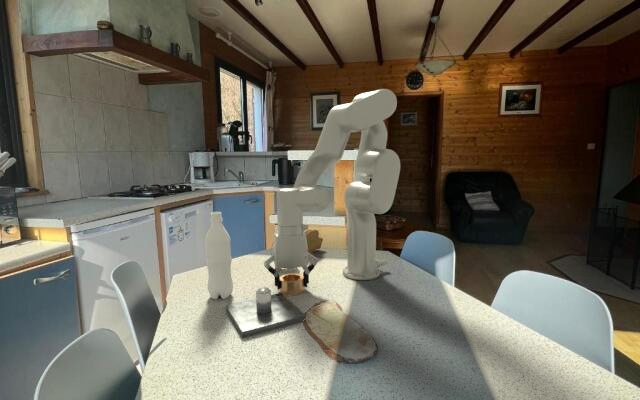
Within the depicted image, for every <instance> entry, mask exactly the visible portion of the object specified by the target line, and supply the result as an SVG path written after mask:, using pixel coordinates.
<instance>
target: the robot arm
mask: <svg viewBox="0 0 640 400" xmlns="http://www.w3.org/2000/svg"><path fill="white" fill-rule="evenodd" d="M397 99H398V98H397V96H396V95H395V93H394V92H393V90H390V89H388V88H380V89H375V90H372V91H367V92H362V93H360V94H357V95H356V96H354V98H353V99H352V101H351V102H350V103H349V102H348V103H343V104H338V105H335V106H334V107H332V108H331V109H330V110H329V112H328V114H327V116H326V119H325V121H324V124H323V127H322V130H321V133H320V135H319V138H318V141H317V144H316V147H315V149H314V151H313V152H312V153H311V154H310V156H309V157H308V159H307V160H306V161H305V163H304V164H303V165H302V167H301V168H300V169H299V172H298V173H297V177H296V179H295V182H294V185H293V187H284V188H280V189H278V190H277V192H276V213H277V214H276V215H277V231H278V234H275V236H274V240H273V242H274V243H273V254H272V256H270V257H268V258H267V259H266V260H264V261H263V267H265V269H266V270H268V272H269V273H270V274H272V275H273V276H274V286H275V287H276V288H277V290H278V291H280V277H281V276H279V273H280V271H281V269H287V268H298V269H299V268H302V270H303V272H302V276H304V288H308V284H309V283H310V279H309V278H310V276H309V275H310V274H311V272H312V271H313V270H314V269H315V267H317V264H318V263H319V258H317V257H316V256H314V255H313V254H310V253H308V246H307V239H306V235H305V233H304V232H305V231H308V230H309V225H306V224H304V214H303V213H304V212H305V213H306V212H307V213H320V212H323V211H325V210H326V209H328V207H329V206H330V204H331V196H330V194H329V192H328V190H326V189H325V188H323V187H320V186H317V184H318V181H319V180H320V178H321V176H322V175H323V174H324V173H325V172H326V171H327V170H329V169H330V168H332V167H334V166H335V165H336V164H338V163H339V162H340V161H341V160H342V158H343V155H344V152H345V149H346V146H347V144H348V141H349V139H350V136H351V133H357V132H358V133H359V132H361V135H360V142H359V146H358V151H357V154H356V160H355V165H354V166H355V167H354V168H355V171H356V173H357V174H358V175H359V176H360V177H362V178H367V179H371V181H363V180H357V181H353V182H351V183H350V184H348V186H347V187H346V188H345V191H344V197H343V199H344V205H345V210H346V221H347V222H346V223H347V226H346V227H347V230H346V231H347V233H346V234H347V239H346V242H347V265H346V266H345V267H344V268H343V269H342V274H343V276H345V277H346V278H348V279H352V280H357V281H369V280H375V279H377V278H379V276H380V275H381V270H380V267H382V266H387V265H388V261H387V259H379V258H377V257H376V255H377V254H376V253H377V249H376V248H377V221H376V215H382V214H385V213H387V212H388V211H389V210H390V209H391V208H392V205H393V204H394V203H393V202H394V200H395V195H396V190H397V186H398V182H399V177H400V172H401V160H400V157H399V155H398V154H397V152H395V151H394V150H393V149H389V148H386V147H387V142H388V130H387V127H386V124H385V122H384V121H385V120H386V119H388V118H390V117H391V116H393V114H394V112H395V111H396V109H397V106H398V105H397V104H398V100H397ZM375 214H376V215H375ZM309 260H311V263H309ZM273 262H274V267H273V266H271V263H273ZM275 267H276V268H275Z"/></svg>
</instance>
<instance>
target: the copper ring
mask: <svg viewBox="0 0 640 400" xmlns="http://www.w3.org/2000/svg"><path fill="white" fill-rule="evenodd" d="M304 291H305V287H304V276H303V274H301V273H298V274H296V273H292V274H285V275H283V276H280V289H279V293H282V294H283V295H284V296H296V295H301V294H302V293H304Z"/></svg>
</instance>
